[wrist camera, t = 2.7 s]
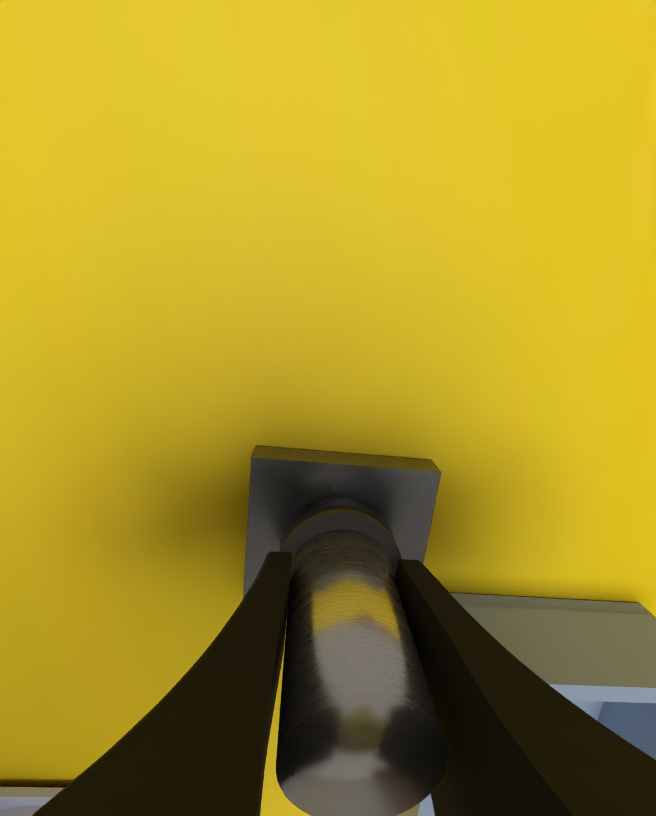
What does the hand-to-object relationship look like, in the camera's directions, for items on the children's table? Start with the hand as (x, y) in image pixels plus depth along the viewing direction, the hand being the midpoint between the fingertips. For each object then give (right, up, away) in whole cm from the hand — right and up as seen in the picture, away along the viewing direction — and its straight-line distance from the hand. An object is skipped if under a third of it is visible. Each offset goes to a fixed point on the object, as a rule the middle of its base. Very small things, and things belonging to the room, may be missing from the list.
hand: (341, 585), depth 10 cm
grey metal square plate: (0, +1, +3) cm, 3 cm away
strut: (0, 0, +2) cm, 2 cm away
